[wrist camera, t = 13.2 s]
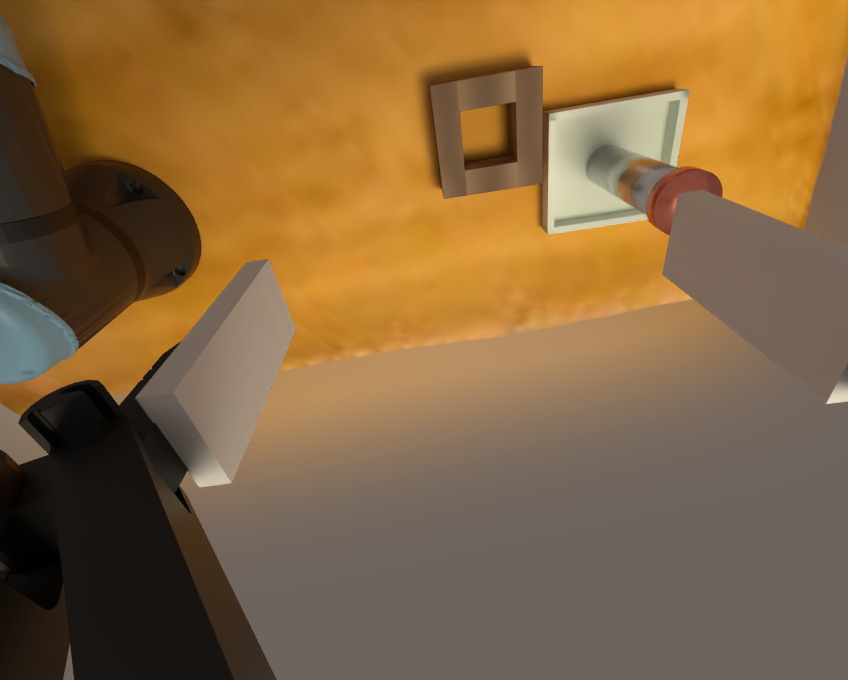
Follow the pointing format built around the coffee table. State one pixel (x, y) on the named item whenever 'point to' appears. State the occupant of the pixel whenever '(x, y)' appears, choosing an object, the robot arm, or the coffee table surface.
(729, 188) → the coffee table surface
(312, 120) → the coffee table surface
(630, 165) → the pin
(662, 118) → the tray
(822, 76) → the coffee table surface
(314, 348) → the coffee table surface
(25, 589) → the robot arm
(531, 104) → the socket block
